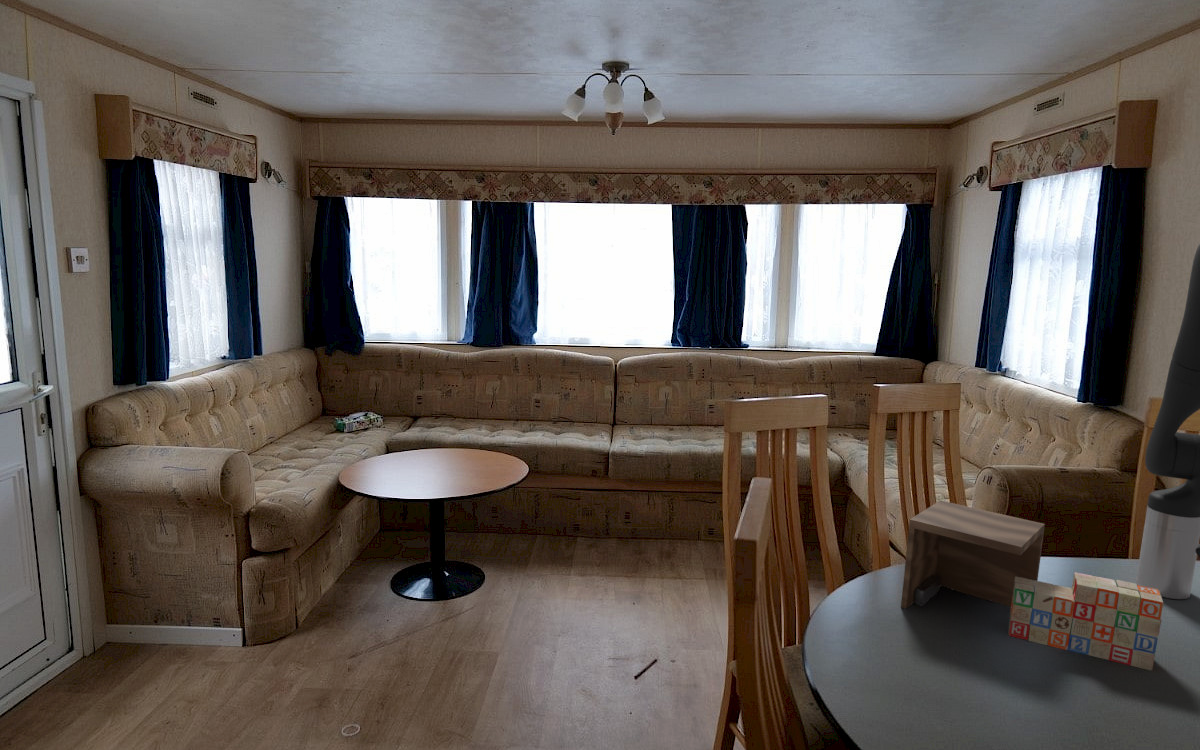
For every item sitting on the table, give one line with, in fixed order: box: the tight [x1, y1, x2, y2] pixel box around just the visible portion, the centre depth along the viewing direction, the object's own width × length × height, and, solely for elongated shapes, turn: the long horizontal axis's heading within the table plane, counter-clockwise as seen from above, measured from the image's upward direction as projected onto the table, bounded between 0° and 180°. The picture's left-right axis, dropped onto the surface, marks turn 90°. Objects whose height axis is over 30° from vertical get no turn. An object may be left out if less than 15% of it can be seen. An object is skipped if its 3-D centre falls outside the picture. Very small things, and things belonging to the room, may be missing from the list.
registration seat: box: [913, 574, 941, 607], centre depth 152 cm, size 10×2×3 cm, turn 138°
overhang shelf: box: [900, 500, 1046, 610], centre depth 146 cm, size 17×19×18 cm
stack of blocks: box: [1007, 571, 1164, 671], centre depth 134 cm, size 21×6×12 cm, turn 61°
